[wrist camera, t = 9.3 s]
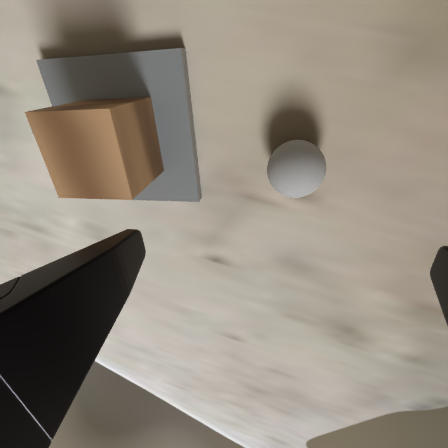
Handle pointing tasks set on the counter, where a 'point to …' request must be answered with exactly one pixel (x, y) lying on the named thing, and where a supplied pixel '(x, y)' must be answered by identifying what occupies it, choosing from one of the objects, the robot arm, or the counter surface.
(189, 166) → the slate board
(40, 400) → the robot arm
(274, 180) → the grey ball
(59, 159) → the tan block
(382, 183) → the counter surface
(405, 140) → the counter surface
